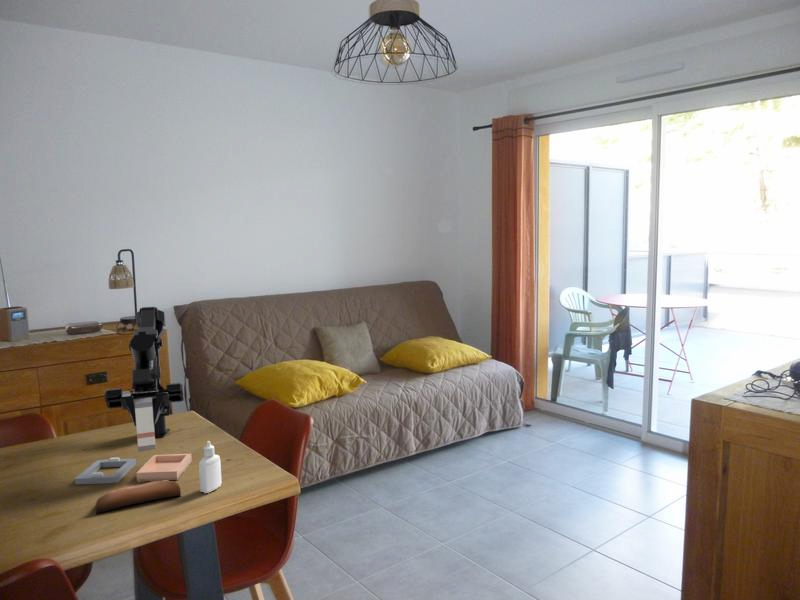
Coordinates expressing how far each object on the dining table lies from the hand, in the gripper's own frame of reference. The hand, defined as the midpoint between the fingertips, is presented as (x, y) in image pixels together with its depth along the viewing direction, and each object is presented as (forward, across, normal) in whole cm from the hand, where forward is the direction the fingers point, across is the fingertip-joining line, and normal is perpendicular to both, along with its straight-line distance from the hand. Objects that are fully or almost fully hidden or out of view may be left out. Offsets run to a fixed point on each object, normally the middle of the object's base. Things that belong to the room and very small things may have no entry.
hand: (144, 424), depth 149 cm
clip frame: (+6, -10, +13) cm, 18 cm away
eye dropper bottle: (+20, +15, -1) cm, 25 cm away
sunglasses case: (+20, -1, 0) cm, 20 cm away
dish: (+9, +4, +10) cm, 14 cm away
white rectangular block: (+4, 0, +6) cm, 7 cm away
